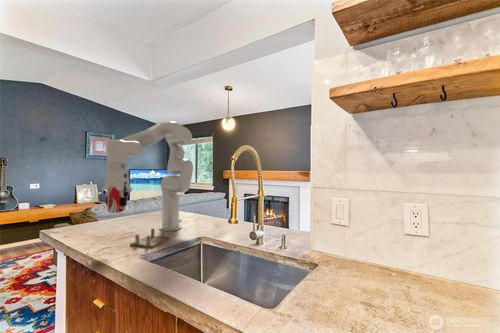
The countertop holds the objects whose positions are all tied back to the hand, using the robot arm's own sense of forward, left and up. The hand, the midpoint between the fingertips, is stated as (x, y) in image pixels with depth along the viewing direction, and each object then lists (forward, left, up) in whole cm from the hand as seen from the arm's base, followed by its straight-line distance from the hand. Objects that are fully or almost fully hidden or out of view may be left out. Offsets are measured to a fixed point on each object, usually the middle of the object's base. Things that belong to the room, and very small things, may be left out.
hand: (116, 205), depth 114 cm
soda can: (0, 0, -3) cm, 3 cm away
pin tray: (-10, +11, -19) cm, 25 cm away
